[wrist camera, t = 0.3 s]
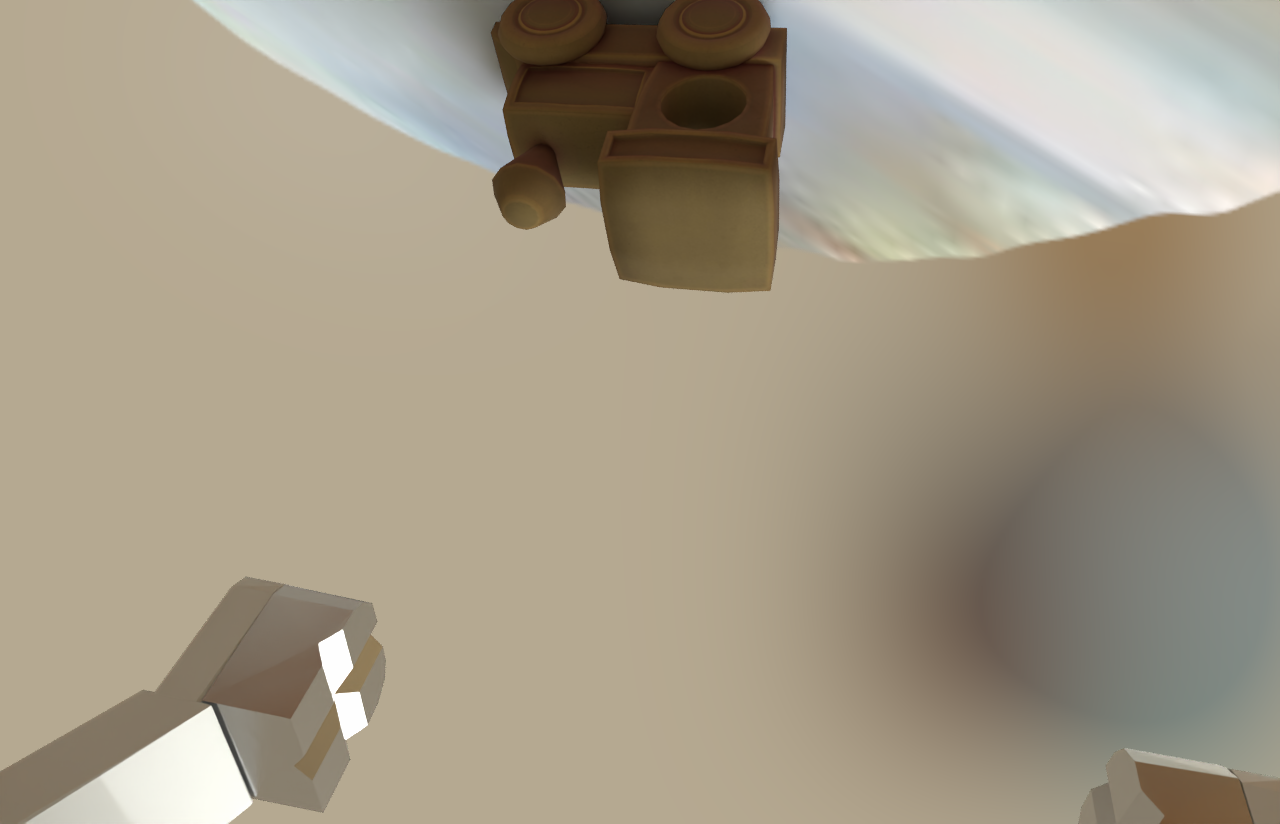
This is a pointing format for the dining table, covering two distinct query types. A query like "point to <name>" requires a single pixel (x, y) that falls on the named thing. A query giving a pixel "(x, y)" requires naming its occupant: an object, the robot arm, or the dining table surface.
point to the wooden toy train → (650, 133)
